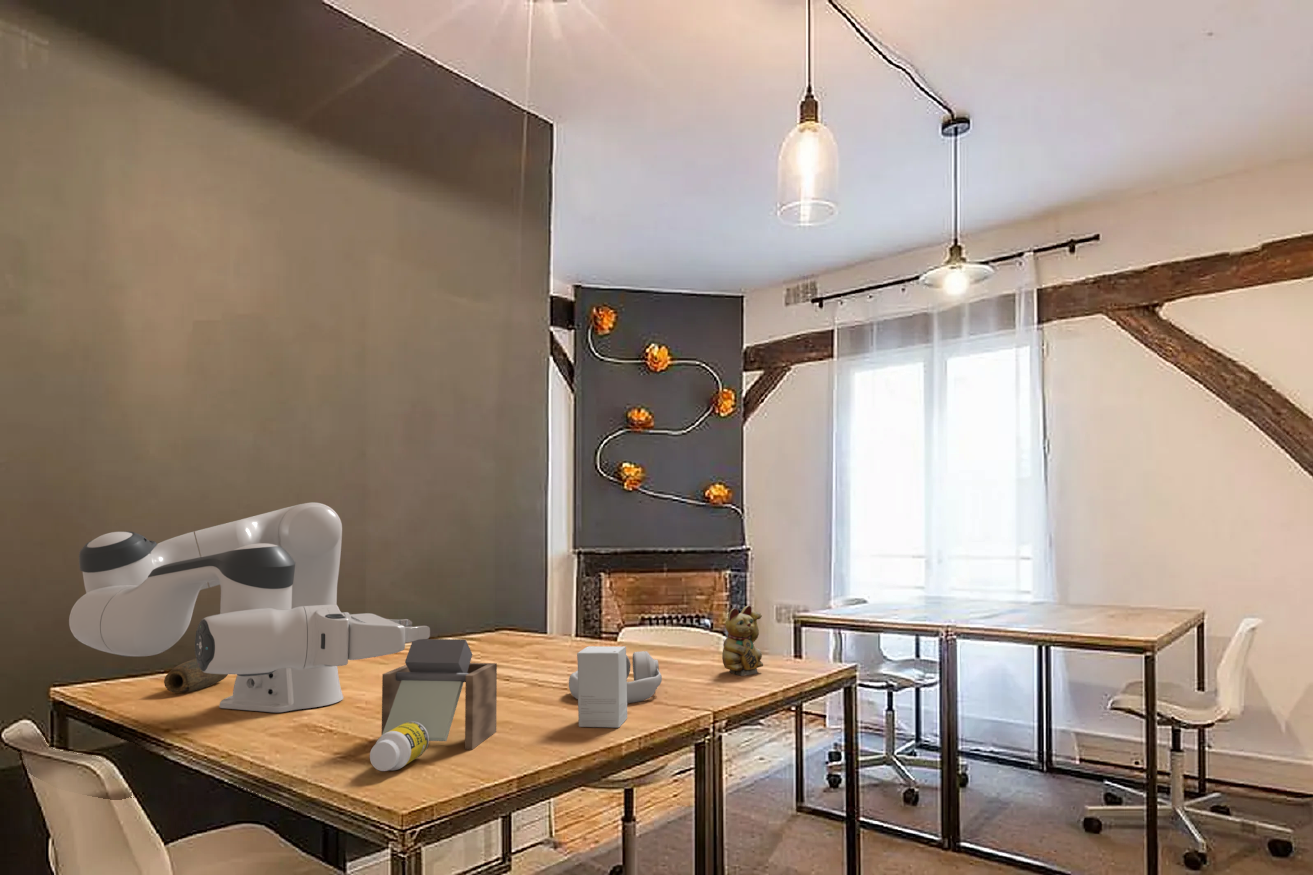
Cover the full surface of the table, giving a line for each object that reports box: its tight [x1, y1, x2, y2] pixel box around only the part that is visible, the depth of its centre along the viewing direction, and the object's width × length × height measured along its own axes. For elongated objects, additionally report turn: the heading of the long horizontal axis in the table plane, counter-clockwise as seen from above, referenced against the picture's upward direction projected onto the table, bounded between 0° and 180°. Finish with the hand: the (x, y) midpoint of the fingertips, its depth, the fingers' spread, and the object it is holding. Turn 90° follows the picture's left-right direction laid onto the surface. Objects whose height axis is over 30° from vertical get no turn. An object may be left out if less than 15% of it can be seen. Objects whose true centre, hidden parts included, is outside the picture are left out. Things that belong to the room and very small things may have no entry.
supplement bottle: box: [369, 721, 430, 772], centre depth 124 cm, size 5×5×10 cm
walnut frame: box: [380, 662, 498, 751], centre depth 140 cm, size 11×15×11 cm
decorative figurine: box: [721, 605, 764, 676], centre depth 194 cm, size 10×8×15 cm
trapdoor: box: [381, 638, 473, 742], centre depth 135 cm, size 16×12×4 cm
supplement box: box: [576, 645, 628, 729], centre depth 149 cm, size 7×7×13 cm
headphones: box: [568, 650, 663, 704], centre depth 173 cm, size 18×8×20 cm
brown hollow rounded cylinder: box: [163, 657, 229, 694], centre depth 184 cm, size 15×7×7 cm, turn 177°
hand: (419, 628), depth 131 cm, fingers open, 8 cm apart
